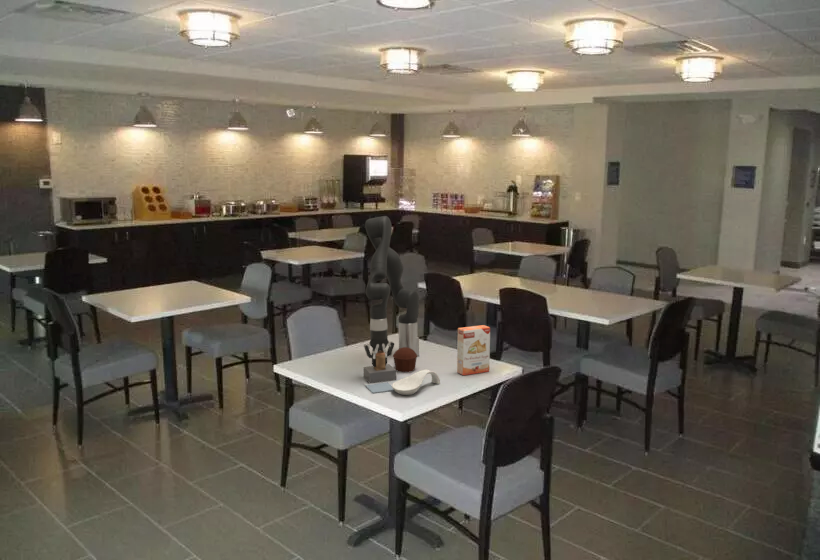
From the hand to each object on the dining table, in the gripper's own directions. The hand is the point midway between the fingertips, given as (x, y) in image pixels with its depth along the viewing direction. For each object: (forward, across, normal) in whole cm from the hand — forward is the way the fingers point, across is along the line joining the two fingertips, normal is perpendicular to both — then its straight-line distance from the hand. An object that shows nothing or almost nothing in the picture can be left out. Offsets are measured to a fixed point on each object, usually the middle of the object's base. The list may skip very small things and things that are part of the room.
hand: (379, 365), depth 288 cm
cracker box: (+6, -42, +8) cm, 43 cm away
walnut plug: (+6, 0, 0) cm, 6 cm away
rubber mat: (+6, +4, +13) cm, 15 cm away
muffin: (+6, -15, -8) cm, 18 cm away
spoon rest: (+6, -10, +20) cm, 23 cm away
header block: (+6, 0, 0) cm, 6 cm away
